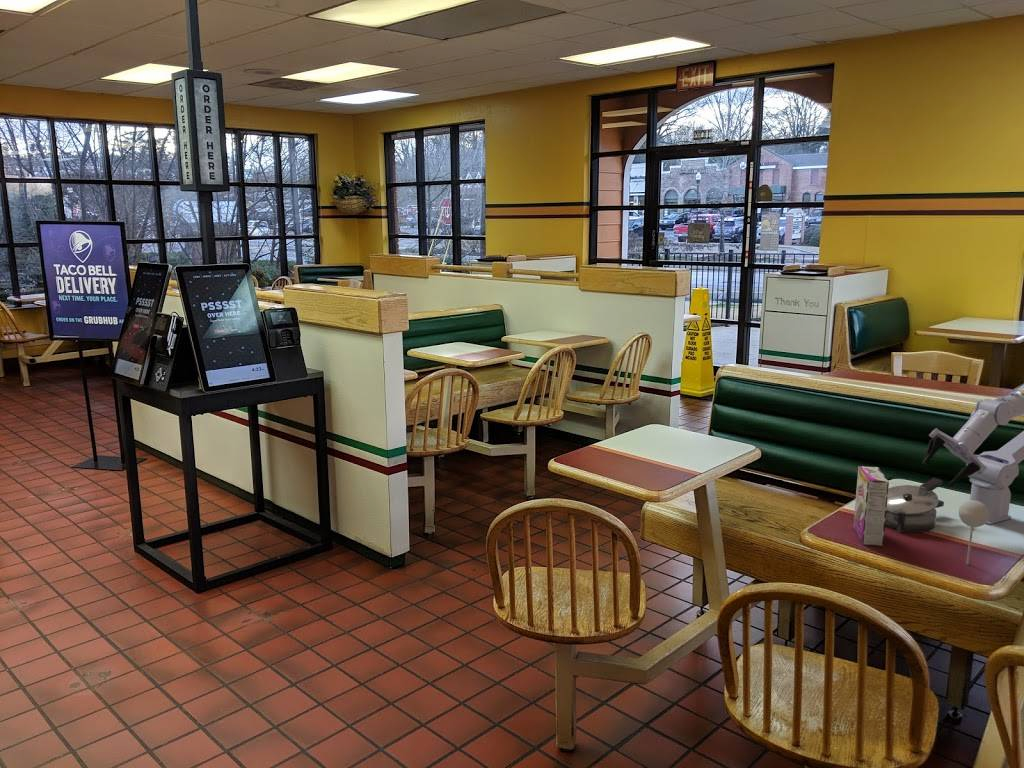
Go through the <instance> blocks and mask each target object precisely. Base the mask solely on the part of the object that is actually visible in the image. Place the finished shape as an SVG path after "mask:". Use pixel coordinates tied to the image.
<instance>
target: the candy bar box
mask: <svg viewBox="0 0 1024 768" xmlns="http://www.w3.org/2000/svg"><path fill="white" fill-rule="evenodd" d="M889 485H890V481H889V480H888V478H886V476H885V474H884V473H883V472H882V471H881V469H880V468H879V467H877V466H864V465H861V466H857V480H856V491H855V503H854V505H855V506H854V514H853V515H854V516H853V526H852V527H853V530H854V531H855V533H856V535H857V537H858V539H859V541H860V543H861V544H862V545H863V546H870V547H871V546H874V547H883V546H884V538H885V529H886V525H885V520H886V509H887V498H888V489H889V488H890V487H889Z"/></svg>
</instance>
